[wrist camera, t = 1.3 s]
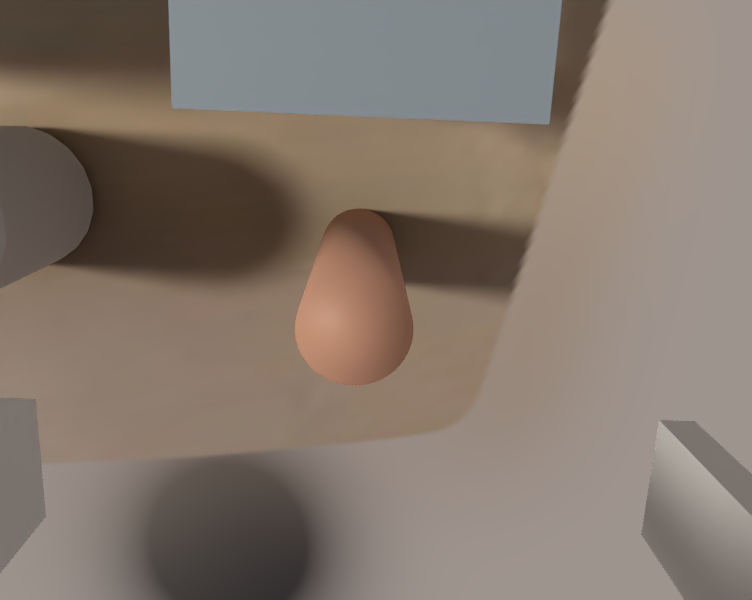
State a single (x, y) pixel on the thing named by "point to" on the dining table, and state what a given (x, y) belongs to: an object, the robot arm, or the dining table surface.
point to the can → (39, 202)
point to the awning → (367, 57)
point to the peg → (355, 303)
